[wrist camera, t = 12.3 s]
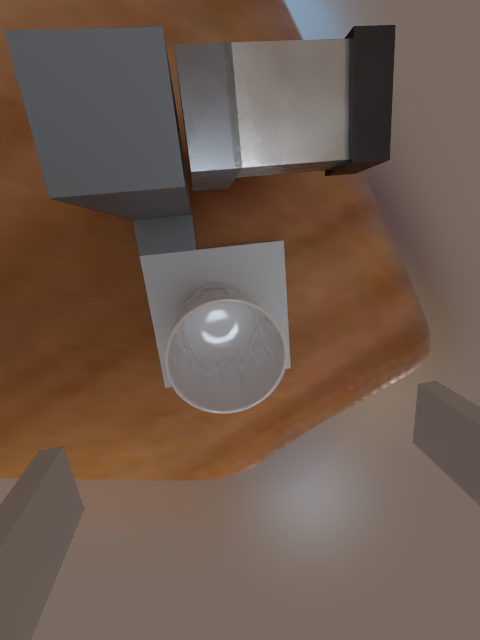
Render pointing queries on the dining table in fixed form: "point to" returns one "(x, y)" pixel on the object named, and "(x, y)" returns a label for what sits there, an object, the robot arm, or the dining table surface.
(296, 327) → the dining table surface
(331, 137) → the handle
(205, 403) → the white cup
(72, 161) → the frame
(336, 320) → the dining table surface
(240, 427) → the dining table surface
